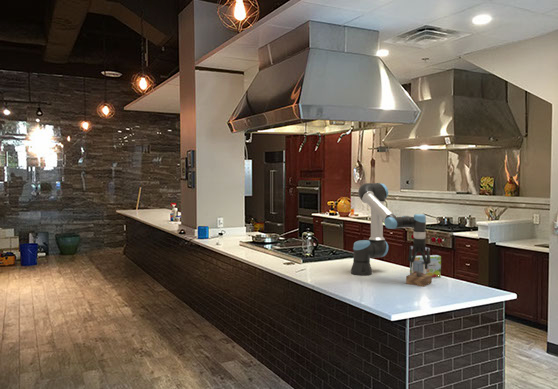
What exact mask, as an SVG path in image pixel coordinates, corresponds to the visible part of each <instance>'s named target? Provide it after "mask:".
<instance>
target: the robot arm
mask: <svg viewBox="0 0 558 389" xmlns="http://www.w3.org/2000/svg"><path fill="white" fill-rule="evenodd" d="M357 193H358V194H357V195H358V197H359V199H360V200H361V201H362V202H363V203H364V204H367V205H368V206H369V207H370V237H369V238H368V239H362V240H361V239H360V240H357V241H355V242H354V243H353V247H352V250H353V258H352V259H353V262H352V266H351V269H350V273H351V274H352V275H354V276H355V275H356V276H369V275H372V274H373V269H372V268H373V267H372V266H371V259H374V258H383V257H385V256H386V255H387V254H388V251H389V244H388V242H387V241H386V239H385V237H384V231H383V230H384V226H385V228H386V229H388V230H389V229H391V230H396V229H406V228H409V229H413V242H412V244H413V245H409V246H408V249H409V250H408V257H407V261H408V262H409V263H410V262H411V267H412V273H414V272H415V271H414V270H413V263H414V260H415V257H416V256H418V253H419V254H420V255H421V256H422V257H423V260H424V263H425V264H423V274H426V269H427V268H428V264H429V263H431V261H430V255H431V254H430V253H431V252H430V251H431V248H430V247H427V246H426V240H427V239H426V235H427V234H426V229H427V228H426V227H427V218H426V214H424V213H423V214H420V213H419V214H418V213H416V214H413V216H410V215H402V216H396V215H395V214H394V213H393V212H392V211H391V210H390V209H389V208H388V207H387V206H386V205H385V204H384V203H385V202H386V199H387V198H388V196H389V189H388V187H387V186H386V184H385V183H379V182H373V183H371V182H370V183H369V182H365V183H362V185H360V187H359V188H358V191H357ZM383 221H384V222H383ZM383 223H384V224H383ZM425 253H426V254H425ZM425 255H427V259H426V256H425ZM411 258H412V259H411Z"/></svg>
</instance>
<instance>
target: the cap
mask: <svg viewBox="0 0 558 389" xmlns="http://www.w3.org/2000/svg"><path fill="white" fill-rule="evenodd" d="M423 264H425V263H424V261H421V260H415V261H414V263H413V270H414V271H423Z"/></svg>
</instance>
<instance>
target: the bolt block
mask: <svg viewBox="0 0 558 389" xmlns="http://www.w3.org/2000/svg"><path fill="white" fill-rule="evenodd" d="M432 279H433V278H432V276H430V275H423V274H422V271H416V273H414V274H411V275H410V274H408V275H406V277H405V282H406V283H405V285H411V286H418V287H427V286H428V285H431V284H432Z"/></svg>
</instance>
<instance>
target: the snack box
mask: <svg viewBox="0 0 558 389" xmlns="http://www.w3.org/2000/svg"><path fill="white" fill-rule="evenodd" d="M425 256H426V259H427V255H426V254H425ZM411 259H412V258H411ZM415 260H421V261H424V260H423V257H422V255H416V257H415ZM415 260H414V261H415ZM430 261H431V263H429V264H428V268H427V269H426V274H423V271H422V274H423V275H430V276H432V279H435V277H436V278H441V276H442V275H441V272H442V271H441V270H442V268H441V267H442V256H441V255H438V254H432V255H431V254H430ZM414 273H416V271H415V272H414ZM414 273H412V267H411V262H410V261H409V275H411V274H414ZM438 275H439V276H438Z"/></svg>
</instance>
